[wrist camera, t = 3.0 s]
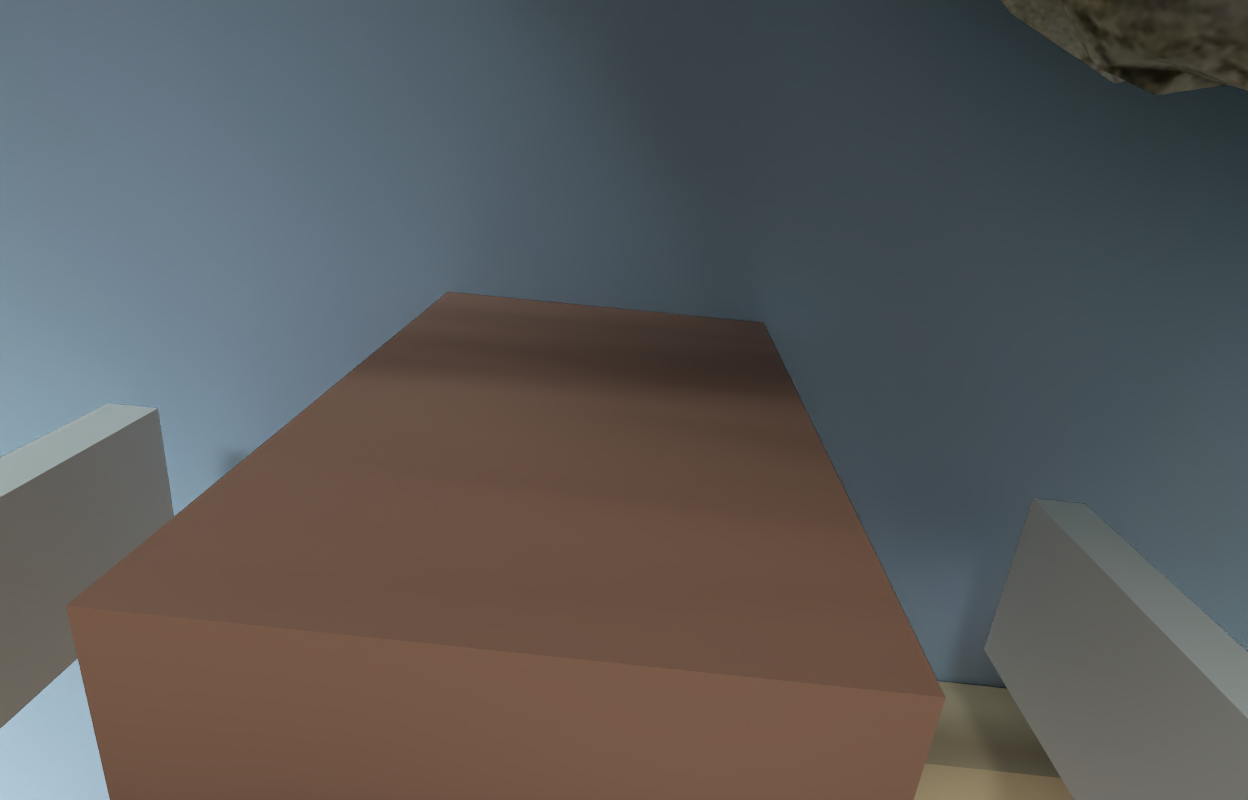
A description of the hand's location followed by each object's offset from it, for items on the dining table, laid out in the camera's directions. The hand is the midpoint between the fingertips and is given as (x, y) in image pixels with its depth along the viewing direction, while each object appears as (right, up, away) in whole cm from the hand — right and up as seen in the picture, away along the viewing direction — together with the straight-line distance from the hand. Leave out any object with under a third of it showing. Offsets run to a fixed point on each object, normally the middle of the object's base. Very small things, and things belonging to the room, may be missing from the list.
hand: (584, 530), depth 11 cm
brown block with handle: (0, -4, +3) cm, 5 cm away
